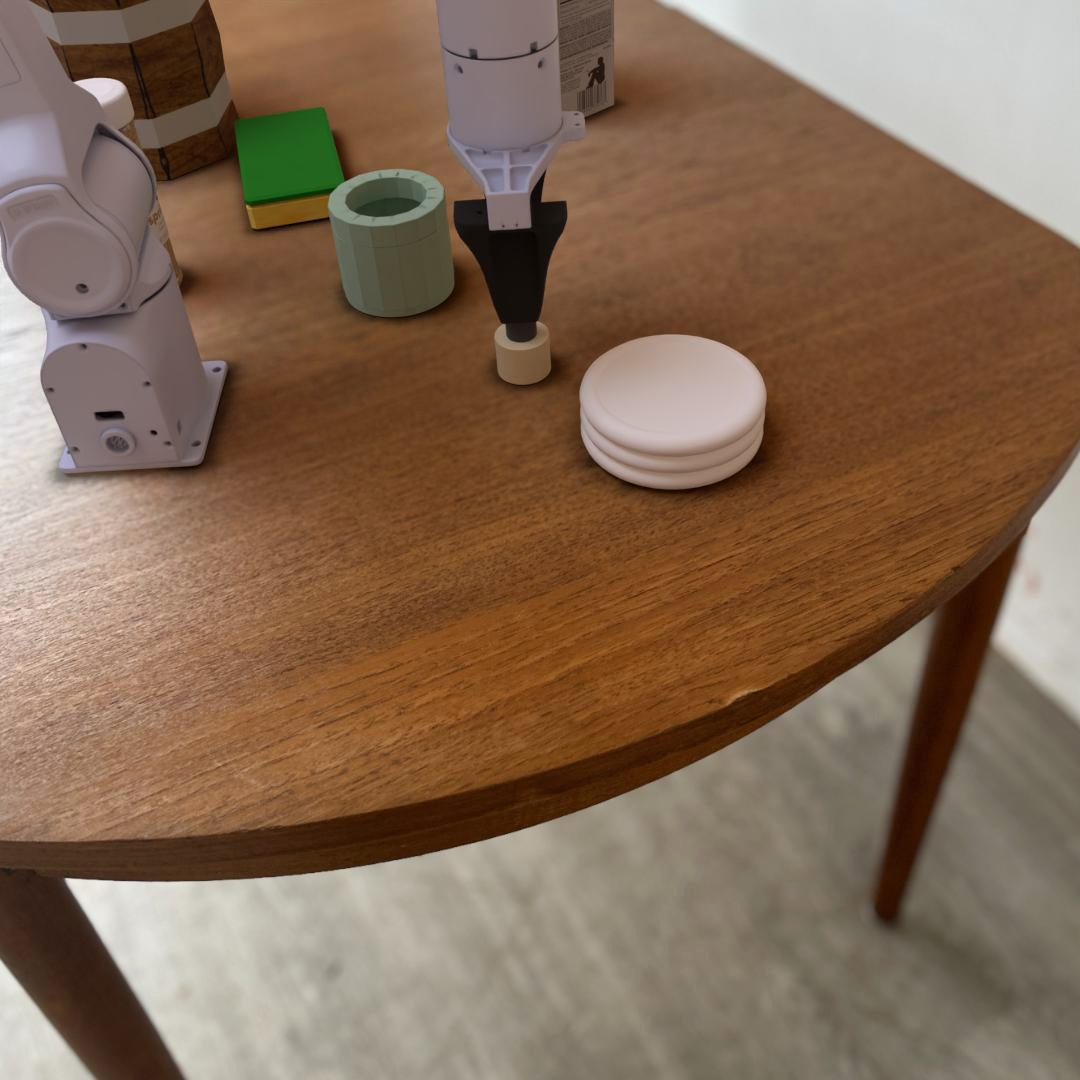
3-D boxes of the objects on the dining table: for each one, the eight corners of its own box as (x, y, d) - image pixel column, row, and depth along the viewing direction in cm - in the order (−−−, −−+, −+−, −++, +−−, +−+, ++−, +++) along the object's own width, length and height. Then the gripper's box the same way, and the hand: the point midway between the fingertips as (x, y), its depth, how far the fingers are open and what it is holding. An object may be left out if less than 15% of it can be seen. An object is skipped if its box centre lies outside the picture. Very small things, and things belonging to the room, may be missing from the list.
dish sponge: (329, 133, 95) (324, 104, 94) (351, 215, 86) (345, 184, 84) (240, 148, 94) (233, 118, 93) (252, 232, 85) (244, 200, 83)
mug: (256, 161, 93) (209, -43, 82) (79, 198, 90) (6, -8, 79) (219, 68, 106) (173, -117, 96) (64, 98, 103) (0, -90, 93)
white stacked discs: (562, 397, 69) (559, 347, 66) (726, 367, 70) (730, 317, 68) (608, 510, 62) (607, 458, 59) (790, 474, 63) (796, 422, 61)
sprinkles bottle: (194, 289, 80) (136, 92, 70) (128, 313, 78) (60, 114, 69) (170, 261, 82) (111, 68, 73) (106, 283, 81) (37, 88, 71)
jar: (453, 313, 76) (442, 221, 71) (340, 320, 76) (322, 229, 71) (455, 254, 81) (445, 165, 76) (350, 261, 81) (333, 172, 77)
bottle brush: (552, 383, 70) (542, 213, 62) (497, 386, 70) (481, 217, 62) (550, 351, 72) (540, 184, 65) (497, 355, 72) (481, 187, 65)
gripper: (590, 94, 52) (598, 351, 62) (574, -23, 63) (582, 212, 72) (430, 105, 52) (462, 360, 62) (440, -13, 63) (466, 220, 72)
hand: (518, 281), depth 67 cm, fingers open, 7 cm apart
